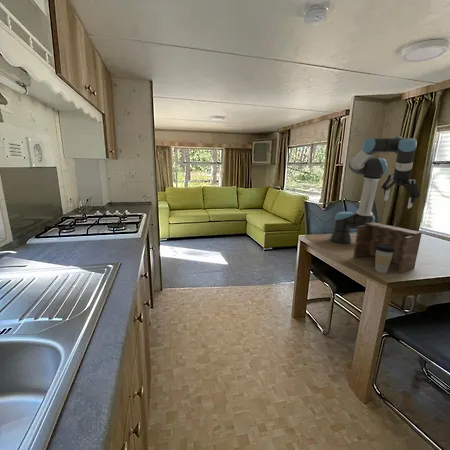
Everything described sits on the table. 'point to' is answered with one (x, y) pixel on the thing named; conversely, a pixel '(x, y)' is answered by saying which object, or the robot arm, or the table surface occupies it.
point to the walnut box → (389, 243)
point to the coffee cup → (383, 257)
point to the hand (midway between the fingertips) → (397, 203)
